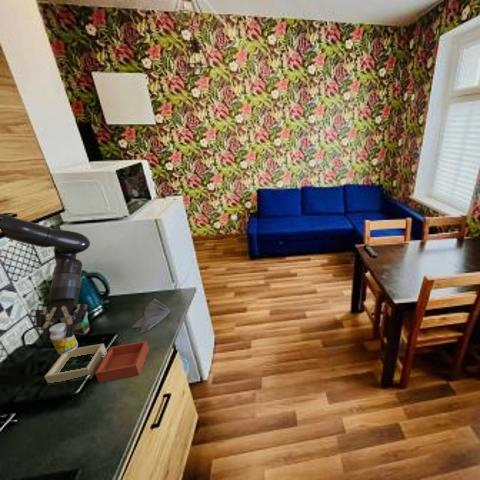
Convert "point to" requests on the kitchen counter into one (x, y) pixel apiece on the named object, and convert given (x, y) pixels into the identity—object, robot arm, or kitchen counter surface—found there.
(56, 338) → the supplement bottle
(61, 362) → the cream bin
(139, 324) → the cloth
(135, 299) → the kitchen counter surface
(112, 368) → the terracotta bin
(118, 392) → the kitchen counter surface
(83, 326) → the food container
